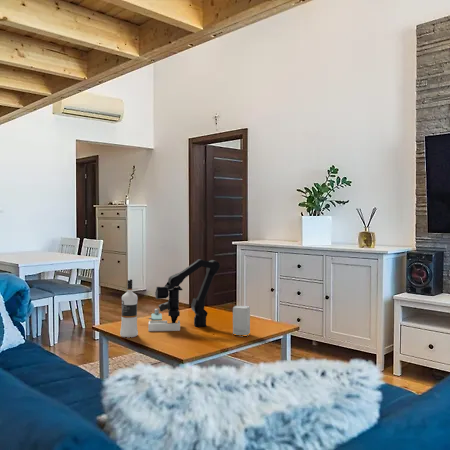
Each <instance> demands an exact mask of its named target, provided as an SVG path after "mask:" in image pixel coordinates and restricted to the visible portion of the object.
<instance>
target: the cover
mask: <svg viewBox="0 0 450 450" xmlns="http://www.w3.org/2000/svg"><path fill="white" fill-rule="evenodd" d="M159 312H160V309H159V308H154V313H151V315H150V316H151V317H149V318H148V320H150V321H163V314H162V313H159Z"/></svg>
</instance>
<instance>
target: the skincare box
mask: <svg viewBox="0 0 450 450" xmlns="http://www.w3.org/2000/svg"><path fill="white" fill-rule="evenodd" d="M249 333H250V334H251V306H249V305H234V306H233V307H232V335H233V334H236V335H248V334H249ZM248 336H249V335H248Z"/></svg>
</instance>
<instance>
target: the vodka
mask: <svg viewBox="0 0 450 450" xmlns="http://www.w3.org/2000/svg"><path fill="white" fill-rule="evenodd" d="M126 285H127V286H126V287H127V290H126V292H125V293H124V294H122V296H121V317H120V319H121V323H120V324H121V325H120V331H119V333H120V334H119V335H120V336H121V337H122V338H125V337H127V338H129V339H130V337H131V338H135V337H138V334H139V330H138V299H139V298H138V297H139V296H138V295H137V294H136V293H135V292H133V279H127V284H126Z"/></svg>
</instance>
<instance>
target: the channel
mask: <svg viewBox="0 0 450 450" xmlns="http://www.w3.org/2000/svg"><path fill="white" fill-rule="evenodd" d="M180 321H181V320H177V322H175V323H172V322H169V323H168V320H155V321H151V320H148V327H147V328H148V329H147V330H148V331H147V332H173V331H174V332H176V331H177V332H178V331H179V332H180V331H181V322H180Z"/></svg>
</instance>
